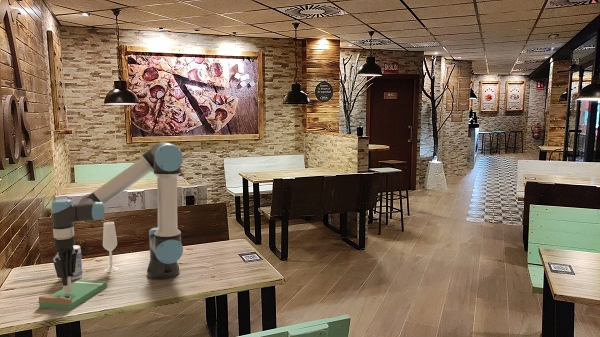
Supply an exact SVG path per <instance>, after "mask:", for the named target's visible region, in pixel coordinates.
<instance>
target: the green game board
mask: <svg viewBox="0 0 600 337" xmlns="http://www.w3.org/2000/svg"><path fill="white" fill-rule="evenodd" d="M71 287H72V292H70V293H66V292H64V291H63V288H62V289H60V290H58V291H55V292H54V293H52V294H50V295H48V296H46V295H39V296H38V307H39V308H40V309H41V308H42V309H51V310H52V309H53V310H63V311H71V310H73V309H74V308H76V307H78V306H79V305H81V304H82V303H84V302H85V301H87V300H89V299H91V298H92V297H93V296H95V295H96V294H99V293H100V292H101V291H103V290H104V289H106V288H107V287H108V281H103V280H91V279H90V280H89V279H80V278H78V279H76V281H73V282H72V283H71ZM60 297H66V298H60Z"/></svg>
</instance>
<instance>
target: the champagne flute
mask: <svg viewBox="0 0 600 337" xmlns="http://www.w3.org/2000/svg"><path fill="white" fill-rule="evenodd" d="M102 227H103V229H102V231H103V232H102V233H103V234H102V247H103V248H104V249H105V250H106V251H108V253H109V256H108V257H109V266H108V267H107V268H105V269H104V272H105V273H113V272H117V271H118V270H120V268H119V267H116V266H114V265H113V250H115V249H116V247H117V246H118V239H117V233H116V226H115V222H114V221H107V222H106V221H105V222H103V226H102Z"/></svg>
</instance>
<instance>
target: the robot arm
mask: <svg viewBox="0 0 600 337" xmlns="http://www.w3.org/2000/svg"><path fill="white" fill-rule="evenodd" d="M183 162H184V154H183V153H182V150H181V149H180V148H179V147H178V146H177V145H175V144H173V143H170V142H166V141H160V142H157V143H156V144H154V145H153V146H152V147H151V148H149V149H148V150H146V151H145V152H144V153H142V154H141V156H140V158H139V159H138V160H137V161H135V162H133V164H131V165H130V166H128V167H127V168H125V169H124V170H122V171H121V172H119V173H118V174H117V175H115V176H114V177H112V178H111V179H110V180H108V181H107V182H105V183H103V184H102V185H101V186H100V187H98V188H96V189H95V190H94V191H93V192H91V193H89V194H88V195H85V196H83V197H82V198H80V200H79V201H78V203H73V200H72V199H69V198H63V199H55V200H53V201H52V202H51V220H52V232H53V234H52V235H53V238H54V239H53V247H54V248H55V250H56V251H55V256H54V257H51V261H52V263H53V267H54V270H55V272H56V276H57V278H58V279H60V278H62V280H61V285H62V289H63V291H64V292H66V293H70V292H72V287H71V284H72V283H73V282H72V281H73V280H72V278H71V276H73V275H74V274H73V273H75V268H76V258H77V253H78V249H74V247H73V246H74V245H75V244H76V242H75V227H74V223H77V222H79V223H80V222H90V221H98V220H103V219H105V214H106V213H105V212H106V211H105V205H106V204H107V203H109V202H110V201H111V200H113V199H115V198H116V197H117V196H119V195H120V194H121V193H123V192H125V190H128V189H129V188H130V187H132V186H133V185H135V184H136V183H137V182H138V181H139V180H141V179H142V178H144V177H145V176H147V175H148V174H150V173H152V172H153V174H154V175H155V176H156V178H157V180H156V182H157V187H156V188H157V194H156V195H157V227H152V228H150V229H149V231H148V232H149V233H148V236H149V259H150V260H149V262H148V267H147V268H146V269H147V270H146V275H147V277H148V278H150V279H157V280H162V279H169V278H172V277H175V276H177V275H179V274H180V266H179V263H178V261H179V260H180V259H181V258H182V256H183V253H184V247H183V243H182V232H181V230H180V229H178V177H179V176H180V175H181V171H182V170H181V169H182V164H183Z"/></svg>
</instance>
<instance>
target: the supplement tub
mask: <svg viewBox="0 0 600 337" xmlns="http://www.w3.org/2000/svg"><path fill="white" fill-rule="evenodd" d="M73 247H74V249H78V253H77V258H76V268H75V273H73V274H74V275H73V276H71V278H72V281H75V280H79V279H80V278H82V276H83V265H82V264H83V263H82V249H81V246H80V245H78V244H77V245H74V246H73ZM59 279H60V280H61V281H62V278H59Z"/></svg>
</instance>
